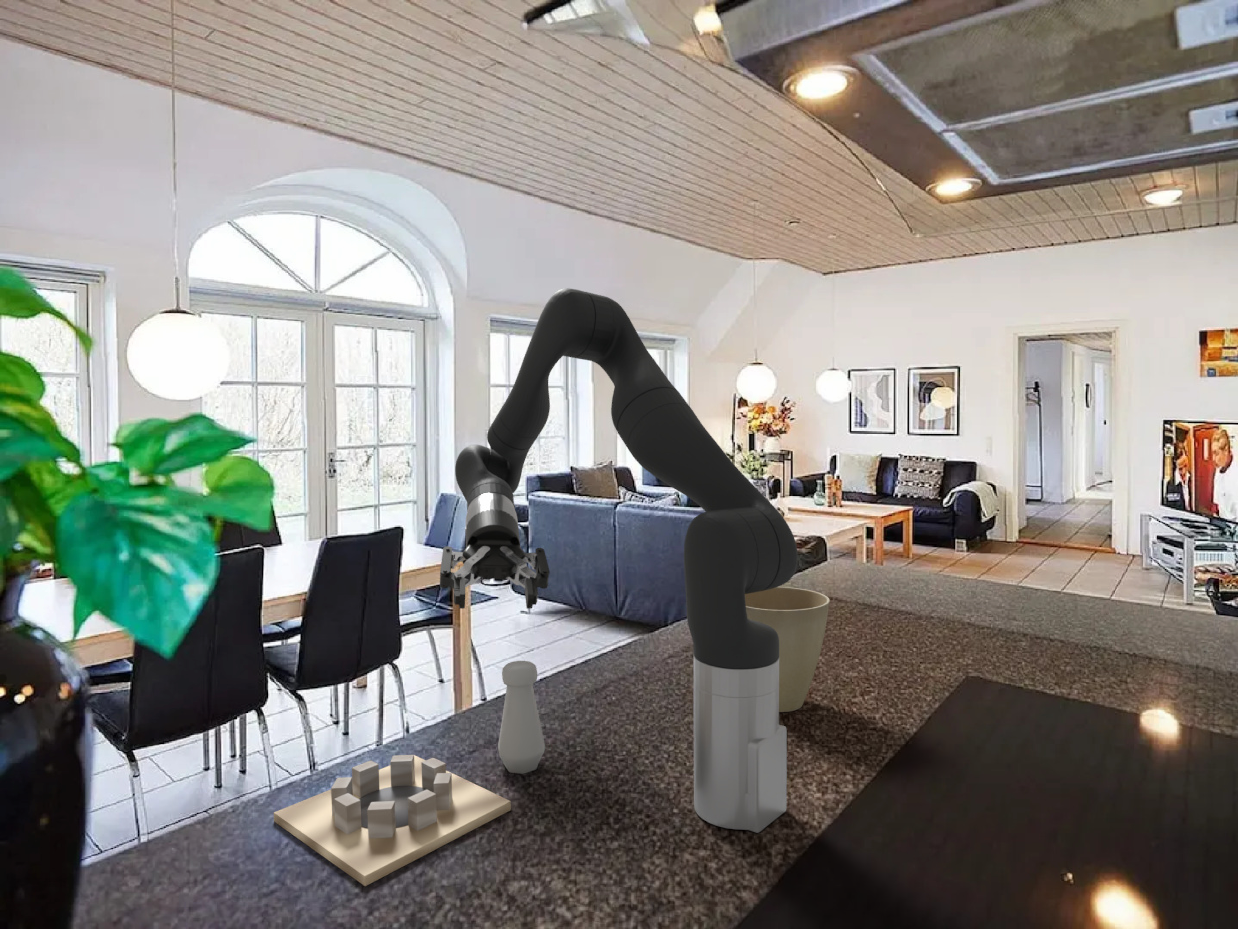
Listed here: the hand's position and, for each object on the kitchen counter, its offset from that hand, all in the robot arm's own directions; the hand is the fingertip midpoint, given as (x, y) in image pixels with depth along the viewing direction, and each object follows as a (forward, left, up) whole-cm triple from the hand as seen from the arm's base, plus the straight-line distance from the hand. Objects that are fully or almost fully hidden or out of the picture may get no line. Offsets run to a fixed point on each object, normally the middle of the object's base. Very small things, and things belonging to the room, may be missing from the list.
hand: (496, 603), depth 101 cm
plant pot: (-19, -37, -20) cm, 46 cm away
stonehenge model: (-3, +18, -20) cm, 27 cm away
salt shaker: (-5, +1, -20) cm, 20 cm away
